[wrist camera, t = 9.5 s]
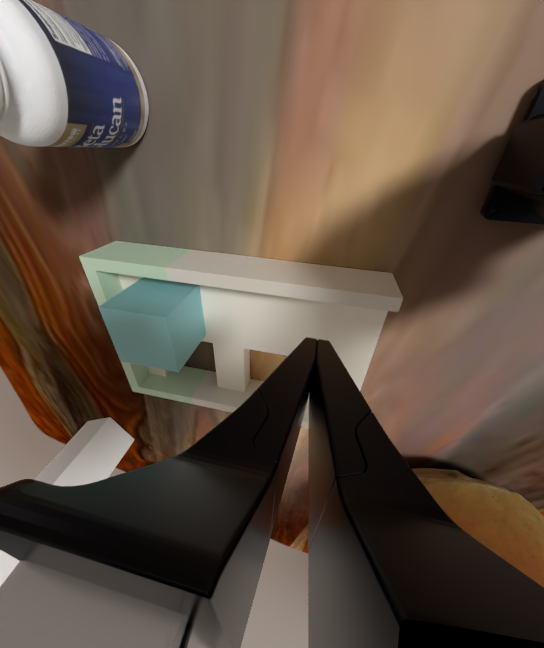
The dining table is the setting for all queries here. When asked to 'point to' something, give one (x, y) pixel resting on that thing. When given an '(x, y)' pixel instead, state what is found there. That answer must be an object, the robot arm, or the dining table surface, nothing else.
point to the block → (155, 323)
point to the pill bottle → (65, 82)
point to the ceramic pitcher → (491, 517)
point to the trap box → (250, 314)
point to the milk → (81, 464)
